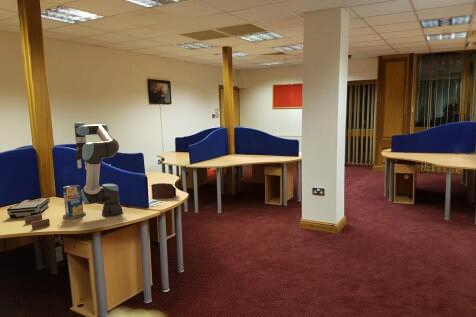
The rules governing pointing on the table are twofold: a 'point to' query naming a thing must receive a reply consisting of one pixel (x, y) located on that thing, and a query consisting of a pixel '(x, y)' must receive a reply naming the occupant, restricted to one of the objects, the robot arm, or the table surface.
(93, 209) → the table surface
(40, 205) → the office tray
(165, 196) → the letter holder
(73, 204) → the beverage box
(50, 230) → the table surface
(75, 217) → the slate coaster
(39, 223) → the walnut slot
